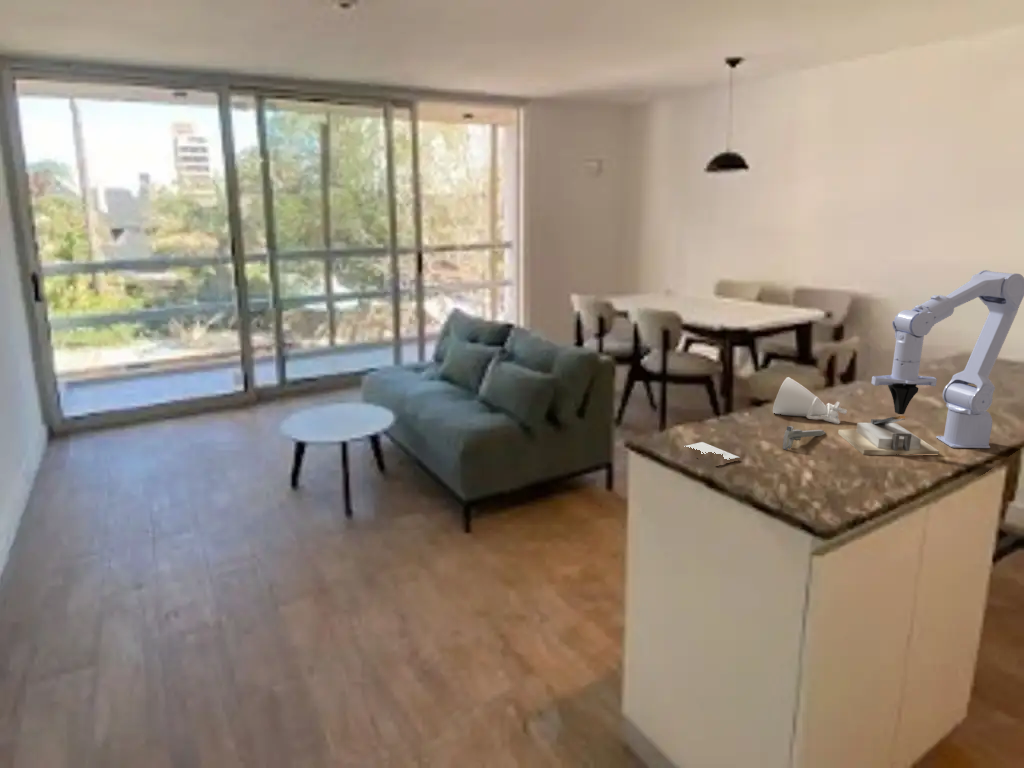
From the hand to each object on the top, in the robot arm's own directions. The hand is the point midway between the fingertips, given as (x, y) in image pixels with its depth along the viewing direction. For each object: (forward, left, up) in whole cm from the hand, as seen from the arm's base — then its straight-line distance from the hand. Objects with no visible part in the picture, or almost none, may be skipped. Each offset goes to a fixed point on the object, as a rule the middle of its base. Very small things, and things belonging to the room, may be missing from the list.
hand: (899, 413), depth 172 cm
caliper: (+20, -6, -10) cm, 23 cm away
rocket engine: (+13, -26, -10) cm, 31 cm away
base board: (0, -5, -10) cm, 11 cm away
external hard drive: (+47, +6, -10) cm, 49 cm away
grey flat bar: (0, -4, -3) cm, 5 cm away
